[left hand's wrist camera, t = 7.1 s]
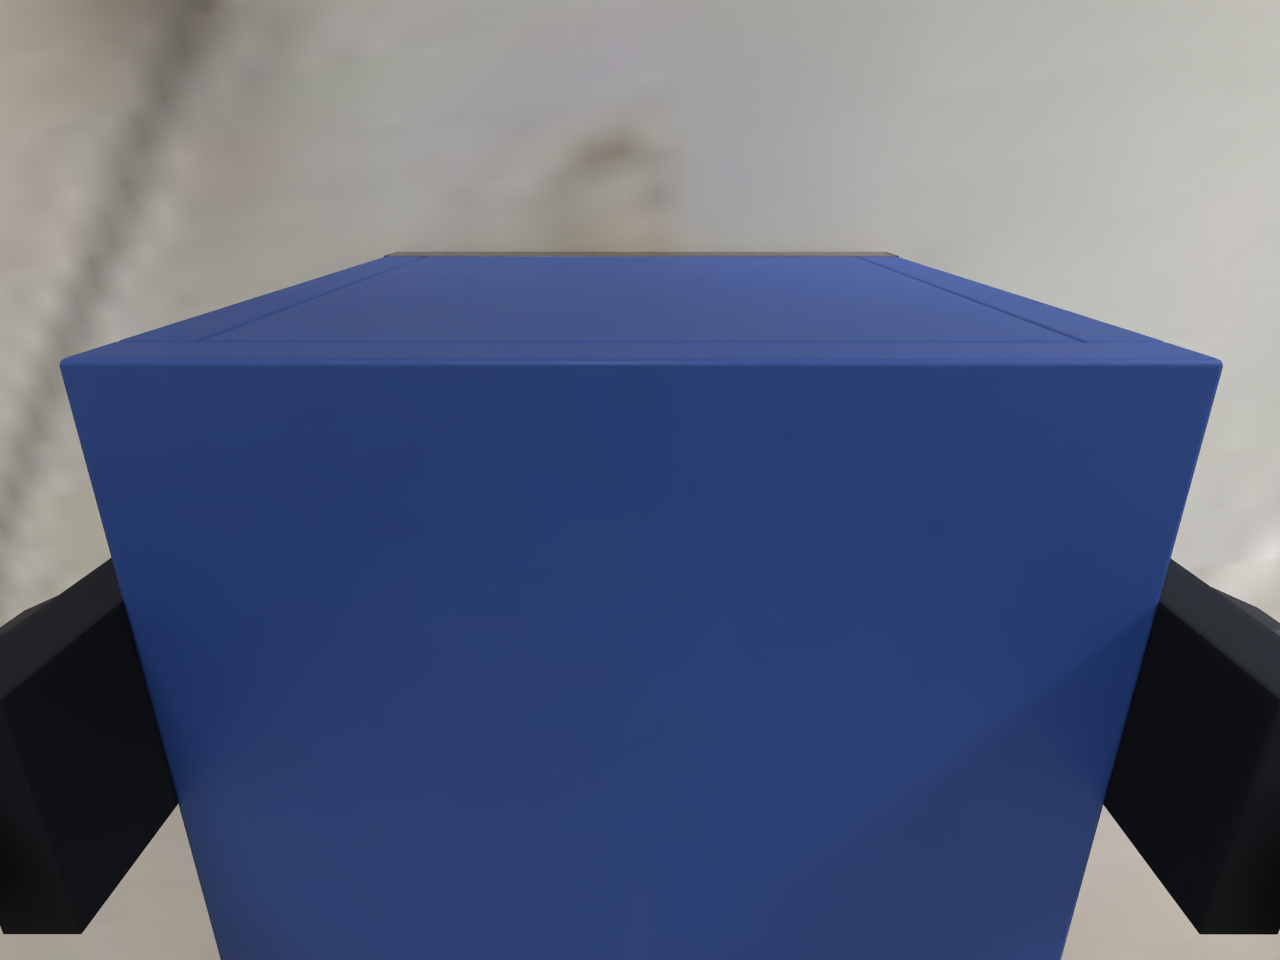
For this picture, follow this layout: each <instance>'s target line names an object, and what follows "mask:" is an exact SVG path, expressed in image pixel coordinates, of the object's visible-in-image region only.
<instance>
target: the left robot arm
mask: <svg viewBox="0 0 1280 960" xmlns="http://www.w3.org/2000/svg"><path fill="white" fill-rule="evenodd" d="M177 804H178V800H177V796H176V792H175V789H174V785H173V781H172V778H171V774H170V770H169V767H168V763H167V759H166V756H165V752H164V748H163V745H162V741H161V737H160V733H159V730H158V726H157V722H156V719H155V715H154V711H153V708H152V704H151V700H150V697H149V693H148V689H147V686H146V682H145V678H144V675H143V671H142V667H141V664H140V660H139V656H138V653H137V649H136V645H135V642H134V638H133V634H132V630H131V627H130V623H129V619H128V616H127V612H126V608H125V605H124V601H123V597H122V594H121V590H120V586H119V583H118V579H117V575H116V572H115V568H114V564H113V561H112V558H110V559H109V560H108V561H106V562H105V563H103V564H102V565H101V566H99V567H98V568H96V569H95V570H94V571H92V572H91V573H89V574H88V575H87V576H85V577H84V578H82V579H81V580H80V581H78V582H77V583H75V584H74V585H73V586H71V587H70V588H68V589H67V590H65V591H64V592H63V593H61V594H60V595H58V596H56V597H54V598H52V599H49V600H47V601H45V602H43V603H40V604H38V605H36V606H34V607H32V608H29V609H27V610H25V611H23V612H22V613H20V614H19V615H18V616H16V617H15V618H13V619H12V620H10V621H9V622H8V623H6V624H5V625H3V626H2V627H0V926H1V929H2V931H3V934H82V932H83V931H84V930H85V928H86V927H87V926H88V924H89V923H90V922H91V920H92V919H93V918H94V916H95V915H96V914H97V912H98V911H99V910H100V908H101V907H102V905H103V904H104V903H105V901H106V900H107V899H108V897H109V896H110V895H111V893H112V892H113V891H114V889H115V888H116V887H117V885H118V884H119V883H120V881H121V880H122V879H123V877H124V876H125V875H126V873H127V872H128V870H129V869H130V868H131V866H132V865H133V864H134V862H135V861H136V860H137V858H138V857H139V856H140V854H141V853H142V852H143V850H144V849H145V848H146V846H147V845H148V844H149V842H150V841H151V839H152V838H153V837H154V835H155V834H156V833H157V831H158V830H159V829H160V827H161V826H162V825H163V823H164V822H165V821H166V819H167V818H168V817H169V815H170V814H171V813H172V811H173V810H174V809H175V807H176V806H177ZM1103 805H1104V806H1105V807H1106V809H1107V810H1108V811H1109V813H1110V814H1111V815H1112V817H1113V818H1114V819H1115V821H1116V822H1117V823H1118V825H1119V826H1120V827H1121V829H1122V830H1123V831H1124V833H1125V834H1126V835H1127V837H1128V838H1129V840H1130V841H1131V842H1132V844H1133V845H1134V846H1135V848H1136V849H1137V850H1138V852H1139V853H1140V854H1141V856H1142V857H1143V858H1144V860H1145V861H1146V862H1147V864H1148V865H1149V866H1150V868H1151V869H1152V871H1153V872H1154V873H1155V875H1156V876H1157V877H1158V879H1159V880H1160V881H1161V883H1162V884H1163V885H1164V887H1165V888H1166V889H1167V891H1168V892H1169V893H1170V895H1171V896H1172V897H1173V899H1174V900H1175V901H1176V903H1177V904H1178V906H1179V907H1180V908H1181V910H1182V911H1183V912H1184V914H1185V915H1186V916H1187V918H1188V919H1189V920H1190V922H1191V923H1192V924H1193V926H1194V927H1195V928H1196V930H1197V931H1198V932H1199V934H1278V932H1279V930H1280V623H1279V622H1277V621H1276V620H1274V619H1273V618H1272V617H1270V616H1269V615H1267V614H1266V613H1264V612H1263V611H1261V610H1260V609H1259V608H1257V607H1255V606H1252V605H1250V604H1248V603H1246V602H1243V601H1241V600H1239V599H1237V598H1234V597H1232V596H1230V595H1228V594H1226V593H1223V592H1221V591H1219V590H1217V589H1214V588H1212V587H1210V586H1209V585H1207V584H1206V583H1204V582H1203V581H1202V580H1200V579H1199V578H1197V577H1196V576H1195V575H1193V574H1192V573H1190V572H1189V571H1187V570H1186V569H1185V568H1183V567H1182V566H1180V565H1179V564H1178V563H1176V562H1175V561H1173V560H1172V559H1171V558H1170V561H1169V565H1168V569H1167V572H1166V576H1165V580H1164V583H1163V587H1162V591H1161V594H1160V598H1159V602H1158V605H1157V609H1156V613H1155V616H1154V620H1153V624H1152V627H1151V631H1150V635H1149V638H1148V642H1147V646H1146V649H1145V653H1144V657H1143V660H1142V664H1141V668H1140V671H1139V675H1138V679H1137V682H1136V686H1135V690H1134V693H1133V697H1132V700H1131V704H1130V708H1129V711H1128V715H1127V719H1126V722H1125V726H1124V730H1123V733H1122V737H1121V741H1120V744H1119V748H1118V752H1117V755H1116V759H1115V763H1114V766H1113V770H1112V774H1111V777H1110V781H1109V785H1108V788H1107V792H1106V796H1105V799H1104V803H1103Z"/></svg>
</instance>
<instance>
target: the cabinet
mask: <svg viewBox="0 0 1280 960" xmlns="http://www.w3.org/2000/svg"><path fill="white" fill-rule="evenodd" d="M1222 368H1223V365H1222V362H1221V361H1220V360H1218V359H1216V358H1213V357H1210V356H1207V355H1204V354H1201V353H1197V352H1194V351H1191V350H1188V349H1185V348H1182V347H1178V346H1175V345H1172V344H1169V343H1164V342H1163V341H1161V340H1158V339H1154V338H1151V337H1148V336H1145V335H1142V334H1139V333H1135V332H1132V331H1129V330H1126V329H1123V328H1120V327H1117V326H1113V325H1110V324H1107V323H1104V322H1101V321H1098V320H1094V319H1091V318H1088V317H1085V316H1082V315H1079V314H1075V313H1072V312H1069V311H1066V310H1063V309H1060V308H1057V307H1053V306H1050V305H1047V304H1044V303H1041V302H1038V301H1034V300H1031V299H1028V298H1025V297H1022V296H1019V295H1015V294H1012V293H1009V292H1006V291H1003V290H1000V289H996V288H993V287H990V286H987V285H984V284H981V283H978V282H974V281H971V280H968V279H965V278H962V277H959V276H955V275H952V274H949V273H946V272H943V271H940V270H936V269H933V268H930V267H927V266H924V265H921V264H918V263H914V262H911V261H908V260H905V259H902V258H899V256H896V255H893V254H890V253H887V252H395V253H392V254H389V255H385V256H384V257H383V258H380V259H377V260H374V261H371V262H367V263H364V264H361V265H358V266H355V267H352V268H348V269H345V270H342V271H339V272H336V273H333V274H329V275H326V276H323V277H320V278H317V279H314V280H310V281H307V282H304V283H301V284H298V285H294V286H291V287H288V288H285V289H282V290H279V291H275V292H272V293H269V294H266V295H263V296H260V297H256V298H253V299H250V300H247V301H244V302H241V303H237V304H234V305H231V306H228V307H225V308H222V309H218V310H215V311H212V312H209V313H206V314H203V315H199V316H196V317H193V318H190V319H187V320H183V321H180V322H177V323H174V324H171V325H168V326H164V327H161V328H158V329H155V330H152V331H149V332H145V333H142V334H139V335H136V336H133V337H130V338H126V339H123V340H121V341H119V342H115V343H111V344H108V345H105V346H102V347H99V348H96V349H92V350H89V351H86V352H83V353H80V354H77V355H73V356H70V357H67V358H65V359H63V360H61V361H60V369H61V373H62V377H63V380H64V384H65V388H66V391H67V395H68V399H69V402H70V406H71V410H72V413H73V417H74V421H75V424H76V428H77V432H78V435H79V439H80V443H81V447H82V450H83V454H84V458H85V461H86V465H87V469H88V472H89V476H90V480H91V483H92V487H93V491H94V494H95V498H96V502H97V505H98V509H99V513H100V516H101V520H102V524H103V527H104V531H105V535H106V538H107V542H108V546H109V550H110V553H111V557H112V561H113V564H114V568H115V572H116V575H117V579H118V583H119V586H120V590H121V594H122V597H123V601H124V605H125V608H126V612H127V616H128V619H129V623H130V627H131V630H132V634H133V638H134V642H135V645H136V649H137V653H138V656H139V660H140V664H141V667H142V671H143V675H144V678H145V682H146V686H147V689H148V693H149V697H150V700H151V704H152V708H153V711H154V715H155V719H156V722H157V726H158V730H159V733H160V737H161V741H162V745H163V748H164V752H165V756H166V759H167V763H168V767H169V770H170V774H171V778H172V781H173V785H174V789H175V792H176V796H177V800H178V803H179V807H180V811H181V814H182V818H183V822H184V825H185V829H186V833H187V837H188V840H189V844H190V848H191V851H192V855H193V859H194V862H195V866H196V870H197V873H198V877H199V881H200V884H201V888H202V892H203V895H204V899H205V903H206V906H207V910H208V914H209V917H210V921H211V925H212V928H213V932H214V936H215V940H216V943H217V947H218V951H219V954H220V958H221V960H1061V957H1062V953H1063V949H1064V946H1065V942H1066V938H1067V935H1068V931H1069V927H1070V924H1071V920H1072V916H1073V913H1074V909H1075V905H1076V902H1077V898H1078V894H1079V891H1080V887H1081V883H1082V880H1083V876H1084V872H1085V869H1086V865H1087V861H1088V858H1089V854H1090V850H1091V847H1092V843H1093V839H1094V836H1095V832H1096V828H1097V825H1098V821H1099V818H1100V814H1101V810H1102V807H1103V803H1104V799H1105V796H1106V792H1107V788H1108V785H1109V781H1110V777H1111V774H1112V770H1113V766H1114V763H1115V759H1116V755H1117V752H1118V748H1119V744H1120V741H1121V737H1122V733H1123V730H1124V726H1125V722H1126V719H1127V715H1128V711H1129V708H1130V704H1131V700H1132V697H1133V693H1134V690H1135V686H1136V682H1137V679H1138V675H1139V671H1140V668H1141V664H1142V660H1143V657H1144V653H1145V649H1146V646H1147V642H1148V638H1149V635H1150V631H1151V627H1152V624H1153V620H1154V616H1155V613H1156V609H1157V605H1158V602H1159V598H1160V594H1161V591H1162V587H1163V583H1164V580H1165V576H1166V572H1167V569H1168V565H1169V561H1170V558H1171V554H1172V551H1173V547H1174V543H1175V540H1176V536H1177V532H1178V529H1179V525H1180V521H1181V518H1182V514H1183V510H1184V507H1185V503H1186V499H1187V496H1188V492H1189V488H1190V485H1191V481H1192V477H1193V474H1194V470H1195V466H1196V463H1197V459H1198V455H1199V452H1200V448H1201V444H1202V441H1203V437H1204V433H1205V430H1206V426H1207V423H1208V419H1209V415H1210V412H1211V408H1212V404H1213V401H1214V397H1215V393H1216V390H1217V386H1218V382H1219V379H1220V375H1221V371H1222Z"/></svg>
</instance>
